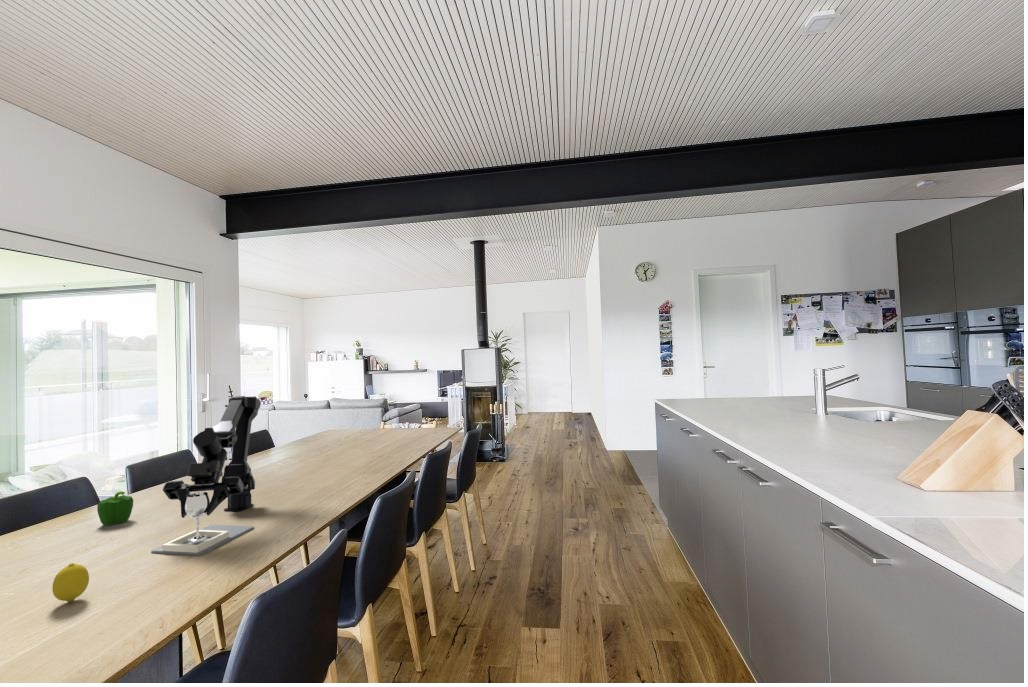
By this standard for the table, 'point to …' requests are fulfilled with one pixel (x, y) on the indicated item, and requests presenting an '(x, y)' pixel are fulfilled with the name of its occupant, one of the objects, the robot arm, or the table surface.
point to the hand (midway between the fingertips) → (195, 516)
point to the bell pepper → (115, 509)
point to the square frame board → (214, 539)
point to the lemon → (70, 582)
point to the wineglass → (197, 510)
